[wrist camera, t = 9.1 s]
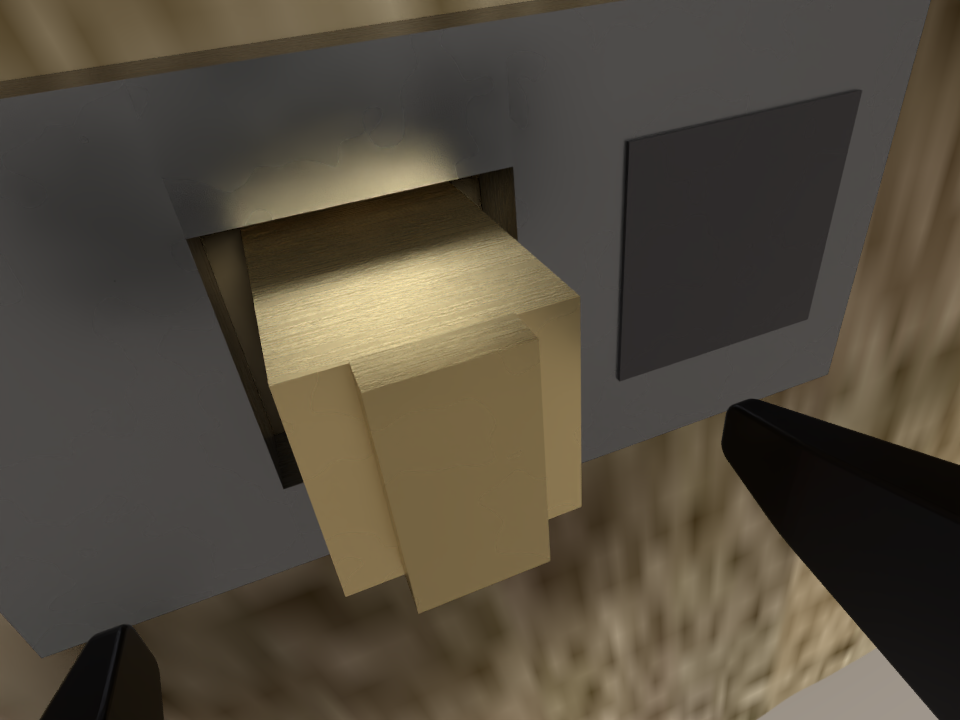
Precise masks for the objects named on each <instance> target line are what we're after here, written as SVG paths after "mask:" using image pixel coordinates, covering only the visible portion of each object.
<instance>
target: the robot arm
mask: <svg viewBox="0 0 960 720" xmlns="http://www.w3.org/2000/svg"><path fill="white" fill-rule="evenodd" d="M721 445H722V450H723V453H724V455H725V457H726V459H727V460H728V462H729V463H730V465H731V466H732V467H733V469H734V470H735V472H736V473H737V475H738V476H739V477H740V479H741V480H742V482H743V483H744V485H745V486H746V487H747V489H748V490H749V492H750V493H751V495H752V496H753V497H754V499H755V500H756V502H757V503H758V505H759V506H760V507H761V509H762V510H763V512H764V513H765V515H766V516H767V517H768V519H769V520H770V522H771V523H772V524H773V526H774V527H775V528H776V530H777V531H778V532H779V534H780V535H781V536H782V537H783V539H784V540H785V541H786V542H787V543H788V545H789V546H790V547H791V548H792V549H793V551H794V552H795V553H796V554H797V555H798V556H799V558H800V559H801V560H802V561H803V562H804V563H805V565H806V566H807V567H808V568H809V569H810V570H811V572H812V573H813V574H814V575H815V576H816V577H817V579H818V580H819V581H820V582H821V583H822V584H823V586H824V587H825V588H826V589H827V590H828V591H829V593H830V594H831V595H832V596H833V597H834V598H835V600H836V601H837V602H838V603H839V604H840V605H841V606H842V608H843V609H844V610H845V611H846V612H847V613H848V615H849V616H850V617H851V618H852V619H853V620H854V622H855V623H856V624H857V625H858V626H859V627H860V629H861V630H862V631H863V632H864V633H865V634H866V636H867V637H868V638H869V639H870V640H871V641H872V643H873V644H874V645H875V646H876V647H877V648H878V650H879V651H880V652H881V653H882V654H883V655H884V656H885V658H886V659H887V660H888V661H889V662H890V664H891V665H892V666H893V667H894V668H895V669H896V671H897V672H898V673H899V674H900V675H901V676H902V678H903V679H904V680H905V681H906V682H907V683H908V684H909V686H910V687H911V688H912V689H913V690H914V692H915V693H916V694H917V695H918V696H919V697H920V698H921V700H922V701H923V702H924V703H925V704H926V705H927V707H928V708H929V709H930V710H931V711H932V712H933V714H934V715H935V716H936V717H937V718H938V719H939V720H960V465H958V464H955V463H952V462H949V461H946V460H942V459H939V458H936V457H933V456H930V455H927V454H924V453H921V452H918V451H915V450H912V449H909V448H906V447H903V446H899V445H896V444H893V443H890V442H887V441H884V440H881V439H878V438H875V437H872V436H869V435H866V434H863V433H860V432H856V431H853V430H850V429H847V428H844V427H841V426H838V425H835V424H832V423H829V422H826V421H823V420H820V419H817V418H813V417H810V416H807V415H804V414H801V413H798V412H795V411H792V410H789V409H786V408H783V407H780V406H777V405H774V404H770V403H767V402H764V401H761V400H758V399H746V400H744V401H741V402H738V403H735V404H733V405H731V406H730V407H729V408H728V409H727V412H726V417H725V423H724V429H723V435H722V441H721ZM40 720H164V714H163V703H162V692H161V682H160V673H159V668H158V665H157V662H156V659H155V657H154V656H153V654H152V653H151V652H150V650H149V649H148V647H147V646H146V644H145V643H144V642H143V640H142V639H141V637H140V636H139V635H138V633H137V632H136V630H135V629H134V628H133V627H132V626H131V625H129V624H121V625H119V626H116V627H113V628H110V629H107V630H105V631H102V632H99V633H97V634H95V635H94V636H92V637H91V638H90V639H89V640H88V642H87V643H86V645H85V646H84V648H83V650H82V651H81V653H80V655H79V656H78V658H77V659H76V661H75V663H74V664H73V666H72V668H71V669H70V671H69V672H68V674H67V676H66V677H65V679H64V681H63V682H62V684H61V686H60V687H59V689H58V690H57V692H56V694H55V695H54V697H53V699H52V700H51V702H50V703H49V705H48V707H47V708H46V710H45V712H44V713H43V715H42V716H41V718H40Z"/></svg>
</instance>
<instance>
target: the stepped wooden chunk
mask: <svg viewBox="0 0 960 720" xmlns="http://www.w3.org/2000/svg"><path fill="white" fill-rule="evenodd" d="M240 229H241V235H242V240H243V246H244V251H245V257H246V263H247V268H248V274H249V279H250V285H251V290H252V296H253V301H254V307H255V312H256V318H257V323H258V329H259V334H260V340H261V345H262V351H263V356H264V362H265V367H266V373H267V378H268V384H269V388H270V391H271V393H272V396H273V399H274V402H275V404H276V407H277V410H278V413H279V415H280V418H281V421H282V424H283V426H284V429H285V432H286V435H287V437H288V440H289V443H290V446H291V448H292V451H293V454H294V457H295V459H296V462H297V465H298V468H299V470H300V473H301V476H302V479H303V481H304V484H305V487H306V490H307V492H308V495H309V498H310V501H311V503H312V506H313V509H314V512H315V514H316V517H317V520H318V523H319V525H320V528H321V531H322V534H323V536H324V539H325V542H326V545H327V547H328V550H329V553H330V556H331V558H332V561H333V564H334V567H335V569H336V572H337V575H338V578H339V580H340V583H341V586H342V589H343V591H344V594H345V597H347V596H350V595H352V594H355V593H357V592H360V591H363V590H365V589H368V588H370V587H373V586H376V585H378V584H381V583H384V582H386V581H389V580H391V579H394V578H397V577H399V576H402V575H405V576H406V579H407V582H408V585H409V588H410V591H411V594H412V596H413V599H414V602H415V605H416V608H417V611H418V614H420V613H422V612H425V611H427V610H430V609H432V608H435V607H437V606H440V605H442V604H445V603H447V602H450V601H452V600H455V599H457V598H460V597H462V596H465V595H467V594H470V593H472V592H475V591H477V590H480V589H482V588H485V587H487V586H490V585H492V584H495V583H497V582H500V581H502V580H504V579H507V578H509V577H512V576H514V575H517V574H519V573H522V572H524V571H527V570H529V569H532V568H534V567H537V566H539V565H542V564H544V563H547V562H549V561H550V544H549V524H548V519H551V518H554V517H556V516H559V515H561V514H564V513H567V512H569V511H572V510H575V509H577V508H580V507H582V490H581V330H580V296H579V295H578V294H577V293H576V292H575V291H574V290H572V289H571V288H570V287H569V286H568V285H567V284H566V283H564V282H563V281H562V280H561V279H560V278H559V277H558V276H556V275H555V274H554V273H553V272H552V271H551V270H550V269H548V268H547V267H546V266H545V265H544V264H543V263H542V262H540V261H539V260H538V259H537V258H536V257H535V256H533V255H532V254H531V253H530V252H529V251H528V250H527V249H525V248H524V247H523V246H522V245H521V244H520V243H519V242H517V241H516V240H515V239H514V238H513V237H512V236H511V235H509V234H508V233H507V232H506V231H505V230H504V229H503V228H501V227H500V226H499V225H498V224H497V223H496V222H494V221H493V220H492V219H491V218H490V217H489V216H488V215H486V214H485V213H484V212H483V211H482V210H481V209H480V208H478V207H477V206H476V205H475V204H474V203H473V202H472V201H470V200H469V199H468V198H467V197H466V196H465V195H464V194H462V193H461V192H460V191H459V190H458V189H457V188H455V187H454V186H453V185H452V184H451V183H450V182H449V181H448V182H444V183H439V184H435V185H430V186H426V187H421V188H417V189H412V190H408V191H404V192H399V193H395V194H390V195H386V196H381V197H377V198H372V199H368V200H363V201H359V202H355V203H350V204H346V205H341V206H337V207H332V208H328V209H323V210H319V211H315V212H310V213H306V214H301V215H297V216H292V217H288V218H283V219H279V220H275V221H270V222H266V223H261V224H257V225H252V226H248V227H243V228H240Z"/></svg>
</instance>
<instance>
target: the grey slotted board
mask: <svg viewBox="0 0 960 720" xmlns="http://www.w3.org/2000/svg"><path fill="white" fill-rule="evenodd" d="M930 1H931V0H534V1H527V2H521V3H514V4H507V5H501V6H494V7H488V8H481V9H475V10H468V11H461V12H455V13H448V14H442V15H435V16H428V17H422V18H415V19H409V20H402V21H396V22H389V23H382V24H376V25H369V26H363V27H356V28H350V29H343V30H336V31H330V32H323V33H317V34H310V35H304V36H297V37H290V38H284V39H277V40H271V41H264V42H258V43H251V44H244V45H238V46H231V47H225V48H218V49H212V50H205V51H198V52H192V53H185V54H179V55H172V56H165V57H159V58H152V59H146V60H139V61H133V62H126V63H119V64H113V65H106V66H100V67H93V68H87V69H80V70H73V71H67V72H60V73H54V74H47V75H41V76H34V77H27V78H21V79H14V80H8V81H1V82H0V613H1V614H2V615H3V616H4V617H5V618H6V619H7V620H8V622H9V623H10V624H11V625H12V626H13V627H14V628H15V629H16V630H17V631H18V633H19V634H20V635H21V636H22V637H23V638H24V639H25V640H26V641H27V643H28V644H29V645H30V646H31V647H32V648H33V649H34V650H35V651H36V653H37V654H38V655H39V656H40V657H41V658H44V657H47V656H49V655H52V654H55V653H58V652H60V651H63V650H66V649H69V648H71V647H74V646H77V645H80V644H82V643H85V642H88V640H89V639H90V638H91V637H92V636H94V635H95V634H97V633H99V632H102V631H105V630H107V629H110V628H113V627H116V626H119V625H121V624H129V625H131V626H132V625H135V624H138V623H141V622H143V621H146V620H149V619H152V618H154V617H157V616H160V615H163V614H166V613H168V612H171V611H174V610H177V609H179V608H182V607H185V606H188V605H190V604H193V603H196V602H199V601H202V600H204V599H207V598H210V597H213V596H215V595H218V594H221V593H224V592H226V591H229V590H232V589H235V588H238V587H240V586H243V585H246V584H249V583H251V582H254V581H257V580H260V579H262V578H265V577H268V576H271V575H274V574H276V573H279V572H282V571H285V570H287V569H290V568H293V567H296V566H298V565H301V564H304V563H307V562H310V561H312V560H315V559H318V558H321V557H323V556H326V555H329V554H330V553H329V550H328V547H327V545H326V542H325V539H324V536H323V534H322V531H321V528H320V525H319V523H318V520H317V517H316V514H315V512H314V509H313V506H312V503H311V501H310V498H309V495H308V492H307V490H306V487H305V484H304V481H303V479H302V476H301V473H300V470H299V468H298V465H297V462H296V459H295V457H294V454H293V451H292V448H291V446H290V443H289V440H288V437H287V435H286V432H284V433H281V434H277V435H274V434H273V431H272V428H271V426H270V423H269V421H268V418H267V415H266V413H265V410H264V407H263V405H262V402H261V399H260V397H259V394H258V391H257V389H256V386H255V383H254V381H253V378H252V375H251V373H250V370H249V367H248V365H247V362H246V359H245V357H244V354H243V351H242V349H241V346H240V343H239V341H238V338H237V335H236V333H235V330H234V327H233V325H232V322H231V319H230V317H229V314H228V312H227V309H226V306H225V304H224V301H223V298H222V296H221V293H220V290H219V288H218V285H217V282H216V280H215V277H214V274H213V272H212V269H211V266H210V264H209V261H208V258H207V256H206V253H205V250H204V248H203V245H202V242H201V240H200V237H199V236H203V235H207V234H212V233H216V232H221V231H225V230H230V229H234V228H239V227H243V226H248V225H252V224H257V223H261V222H266V221H270V220H275V219H279V218H284V217H288V216H293V215H297V214H302V213H306V212H311V211H315V210H320V209H324V208H329V207H333V206H338V205H342V204H347V203H351V202H356V201H360V200H365V199H369V198H374V197H378V196H383V195H387V194H392V193H396V192H401V191H405V190H410V189H414V188H419V187H423V186H428V185H432V184H436V183H441V182H445V181H450V180H454V179H459V178H463V177H468V176H472V175H477V174H479V180H480V190H481V200H482V211H483V212H484V213H485V214H486V215H488V216H489V217H490V218H491V219H492V220H493V221H494V222H496V223H497V224H498V225H499V226H500V227H501V228H503V229H504V230H505V231H506V232H507V233H508V234H509V235H511V236H512V237H513V238H514V239H515V240H516V241H517V242H519V243H520V244H521V245H522V246H523V247H524V248H525V249H527V250H528V251H529V252H530V253H531V254H532V255H533V256H535V257H536V258H537V259H538V260H539V261H540V262H542V263H543V264H544V265H545V266H546V267H547V268H548V269H550V270H551V271H552V272H553V273H554V274H555V275H556V276H558V277H559V278H560V279H561V280H562V281H563V282H564V283H566V284H567V285H568V286H569V287H570V288H571V289H572V290H574V291H575V292H576V293H577V294H578V295H579V296H580V330H581V463H584V462H586V461H589V460H592V459H595V458H597V457H600V456H603V455H606V454H609V453H611V452H614V451H617V450H620V449H622V448H625V447H628V446H631V445H633V444H636V443H639V442H642V441H645V440H647V439H650V438H653V437H656V436H658V435H661V434H664V433H667V432H669V431H672V430H675V429H678V428H681V427H683V426H686V425H689V424H692V423H694V422H697V421H700V420H703V419H705V418H708V417H711V416H714V415H717V414H719V413H722V412H725V411H727V409H728V408H729V407H730V406H731V405H733V404H735V403H738V402H741V401H744V400H746V399H761V398H764V397H766V396H769V395H772V394H775V393H777V392H780V391H783V390H786V389H788V388H791V387H794V386H797V385H800V384H802V383H805V382H808V381H811V380H813V379H816V378H819V377H822V376H824V375H827V374H828V372H829V368H830V364H831V361H832V357H833V354H834V350H835V346H836V343H837V339H838V335H839V332H840V328H841V324H842V321H843V317H844V314H845V310H846V306H847V303H848V299H849V295H850V292H851V288H852V285H853V281H854V277H855V274H856V270H857V266H858V263H859V259H860V256H861V252H862V248H863V245H864V241H865V237H866V234H867V230H868V226H869V223H870V219H871V216H872V212H873V208H874V205H875V201H876V197H877V194H878V190H879V187H880V183H881V179H882V176H883V172H884V168H885V165H886V161H887V157H888V154H889V150H890V147H891V143H892V139H893V136H894V132H895V128H896V125H897V121H898V118H899V114H900V110H901V107H902V103H903V99H904V96H905V92H906V89H907V85H908V81H909V78H910V74H911V70H912V67H913V63H914V59H915V56H916V52H917V49H918V45H919V41H920V38H921V34H922V30H923V27H924V23H925V20H926V16H927V12H928V9H929V5H930Z"/></svg>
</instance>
